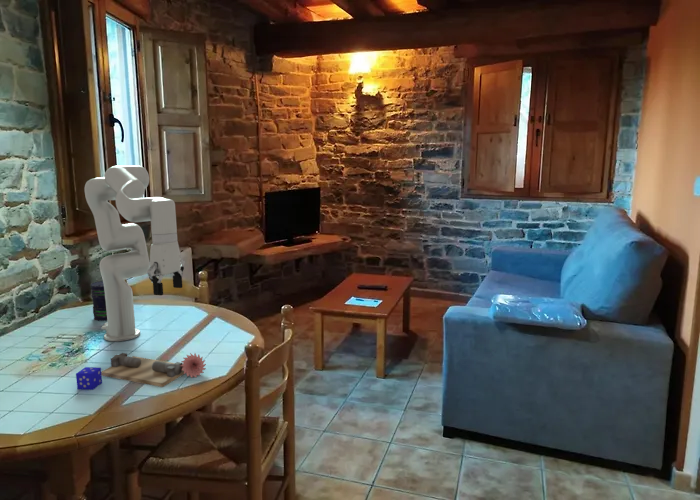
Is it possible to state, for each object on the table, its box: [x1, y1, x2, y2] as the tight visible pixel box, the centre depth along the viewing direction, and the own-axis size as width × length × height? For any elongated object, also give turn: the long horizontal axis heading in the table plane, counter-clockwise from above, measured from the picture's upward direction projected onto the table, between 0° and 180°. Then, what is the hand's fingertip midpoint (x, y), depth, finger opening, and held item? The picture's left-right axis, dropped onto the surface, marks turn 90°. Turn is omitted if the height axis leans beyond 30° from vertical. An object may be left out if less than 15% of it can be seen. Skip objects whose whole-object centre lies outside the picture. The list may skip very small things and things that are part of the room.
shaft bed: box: [101, 352, 185, 388], centre depth 170 cm, size 25×14×4 cm, turn 69°
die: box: [75, 366, 103, 391], centre depth 160 cm, size 5×5×5 cm
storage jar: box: [90, 280, 107, 322], centre depth 226 cm, size 10×10×15 cm
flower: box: [181, 352, 207, 378], centre depth 168 cm, size 8×8×6 cm
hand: (168, 291), depth 172 cm, fingers open, 9 cm apart
